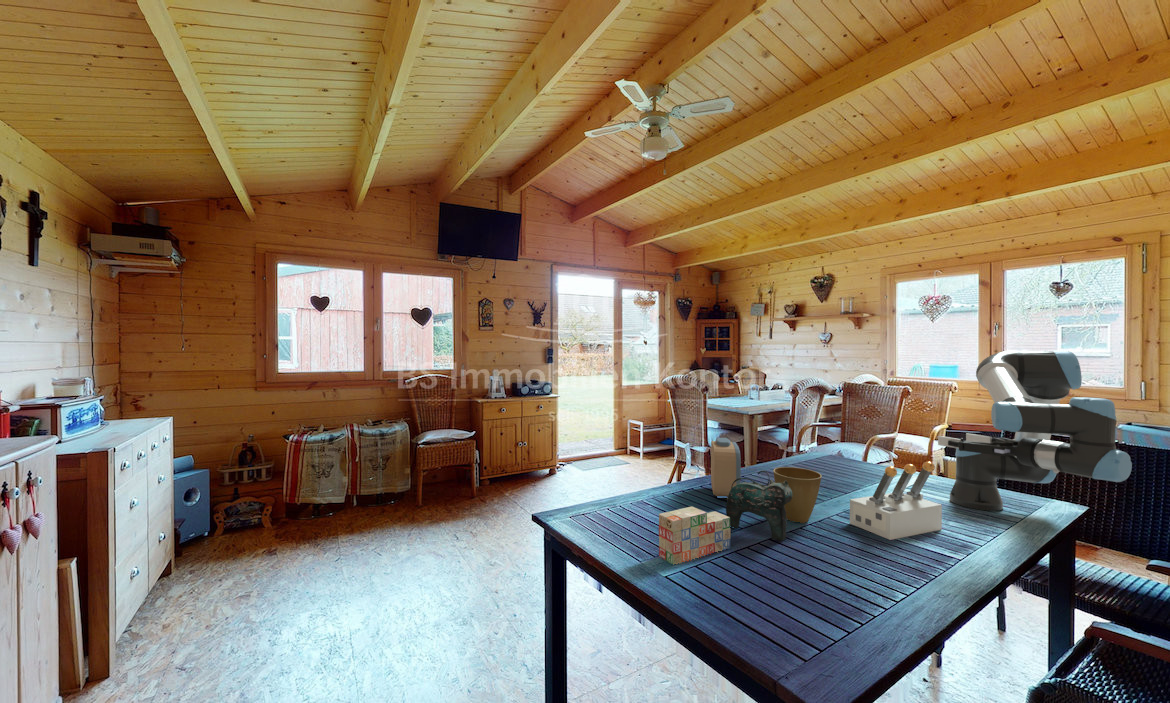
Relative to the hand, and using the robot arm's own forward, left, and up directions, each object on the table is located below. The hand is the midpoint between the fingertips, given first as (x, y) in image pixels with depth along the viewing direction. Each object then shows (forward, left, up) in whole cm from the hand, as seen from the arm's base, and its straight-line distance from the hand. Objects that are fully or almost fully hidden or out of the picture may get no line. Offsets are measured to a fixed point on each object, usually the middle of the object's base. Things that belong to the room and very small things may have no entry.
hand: (953, 438), depth 143 cm
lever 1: (+17, -13, -22) cm, 30 cm away
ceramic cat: (+55, -23, -30) cm, 67 cm away
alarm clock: (+40, -59, -30) cm, 77 cm away
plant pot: (+34, -28, -30) cm, 53 cm away
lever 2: (0, -13, -22) cm, 25 cm away
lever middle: (+9, -13, -22) cm, 26 cm away
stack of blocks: (+80, -18, -31) cm, 88 cm away
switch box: (+9, -12, -30) cm, 34 cm away
